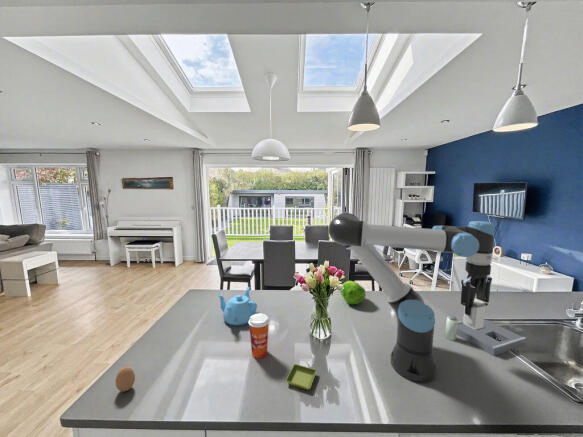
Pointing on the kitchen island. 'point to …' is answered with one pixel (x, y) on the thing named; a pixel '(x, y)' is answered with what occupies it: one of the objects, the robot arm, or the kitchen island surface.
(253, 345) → the coffee cup
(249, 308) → the teapot
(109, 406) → the kitchen island surface
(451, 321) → the peg
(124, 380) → the egg
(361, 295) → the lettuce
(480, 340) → the grey socket board
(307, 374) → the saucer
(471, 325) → the block
